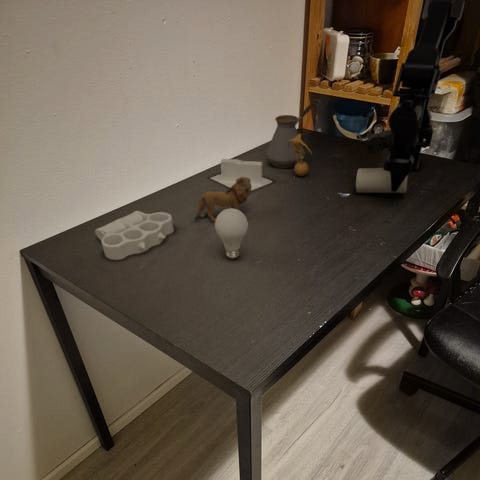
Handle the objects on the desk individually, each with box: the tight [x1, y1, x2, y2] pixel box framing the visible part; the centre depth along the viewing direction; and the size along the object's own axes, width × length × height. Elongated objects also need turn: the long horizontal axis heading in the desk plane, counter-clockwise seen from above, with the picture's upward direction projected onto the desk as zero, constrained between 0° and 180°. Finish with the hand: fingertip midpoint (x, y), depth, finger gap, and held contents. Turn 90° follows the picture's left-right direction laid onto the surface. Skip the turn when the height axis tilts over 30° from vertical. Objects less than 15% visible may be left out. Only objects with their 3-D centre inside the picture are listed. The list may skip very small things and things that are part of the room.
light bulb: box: [214, 207, 249, 260], centre depth 86 cm, size 7×7×11 cm
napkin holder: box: [210, 158, 274, 192], centre depth 118 cm, size 15×11×6 cm
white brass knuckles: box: [94, 210, 175, 261], centre depth 95 cm, size 3×18×15 cm
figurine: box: [287, 133, 313, 177], centre depth 116 cm, size 8×6×12 cm
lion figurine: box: [194, 176, 252, 222], centre depth 101 cm, size 15×5×9 cm, turn 110°
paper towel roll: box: [355, 167, 409, 194], centre depth 107 cm, size 6×12×6 cm, turn 69°
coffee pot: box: [265, 98, 321, 169], centre depth 126 cm, size 21×12×15 cm, turn 138°
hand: (395, 186), depth 107 cm, fingers closed on paper towel roll, 6 cm apart
